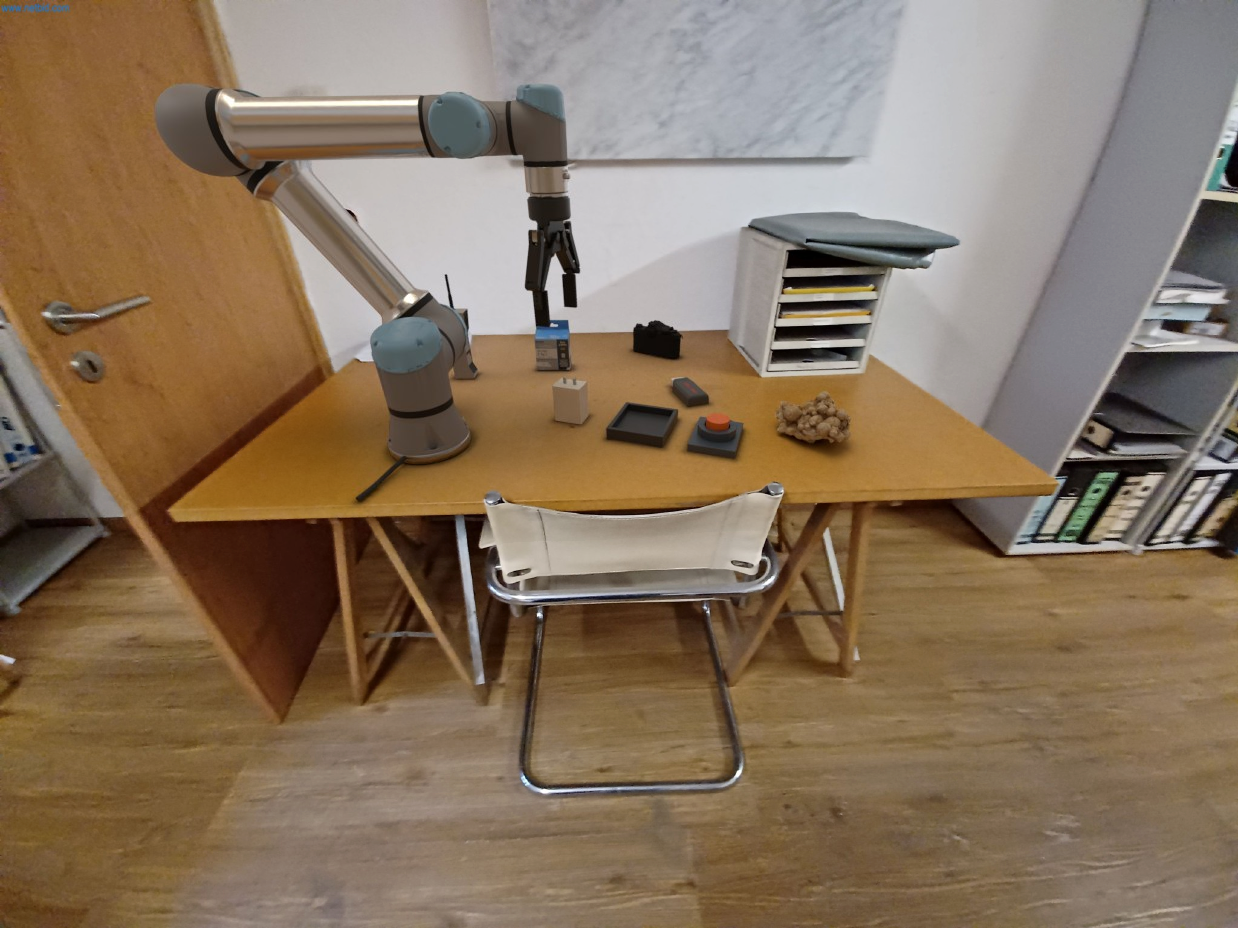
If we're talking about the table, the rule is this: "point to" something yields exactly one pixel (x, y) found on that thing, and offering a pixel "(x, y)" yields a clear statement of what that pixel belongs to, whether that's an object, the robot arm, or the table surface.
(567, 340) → the label tape box
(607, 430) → the cradle
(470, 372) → the vintage mobile phone
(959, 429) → the table surface
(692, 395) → the usb drive
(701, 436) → the switch block
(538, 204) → the robot arm
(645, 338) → the film camera
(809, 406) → the mineral formation
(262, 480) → the table surface
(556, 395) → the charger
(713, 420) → the button
